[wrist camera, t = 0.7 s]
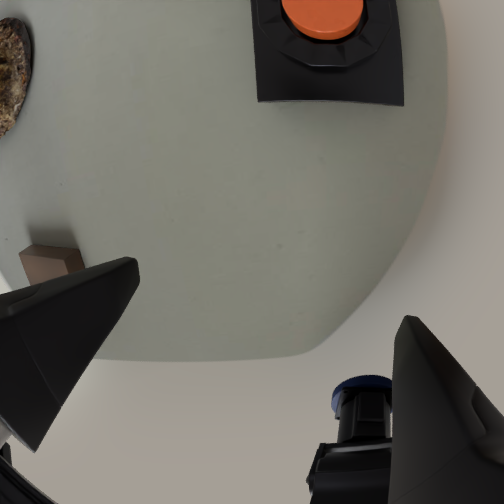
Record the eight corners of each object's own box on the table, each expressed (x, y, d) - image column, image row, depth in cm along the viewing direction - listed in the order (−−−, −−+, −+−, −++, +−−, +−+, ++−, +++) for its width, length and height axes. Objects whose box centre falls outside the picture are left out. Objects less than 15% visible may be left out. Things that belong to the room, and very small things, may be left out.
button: (363, 41, 11) (367, 34, 10) (290, 41, 12) (284, 33, 11) (356, -19, 10) (358, -32, 8) (284, -19, 11) (278, -31, 9)
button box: (393, 106, 16) (412, 107, 12) (269, 102, 18) (248, 102, 14) (380, -30, 12) (390, -62, 7) (259, -28, 14) (237, -59, 9)
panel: (114, 334, 34) (103, 347, 32) (60, 317, 37) (48, 328, 35) (85, 249, 29) (68, 261, 27) (31, 244, 32) (17, 253, 29)
